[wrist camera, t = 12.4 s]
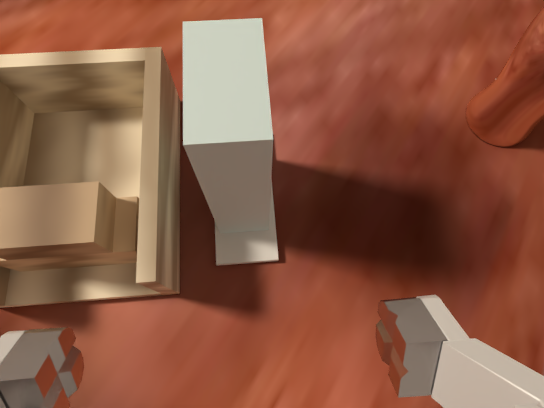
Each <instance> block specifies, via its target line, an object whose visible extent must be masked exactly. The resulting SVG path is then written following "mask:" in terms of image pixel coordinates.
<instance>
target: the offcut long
mask: <svg viewBox="0 0 544 408" xmlns="http://www.w3.org/2000/svg"><path fill="white" fill-rule="evenodd" d="M138 218H139V198H138V197H137V196H135V197H120V198H116V208H115V224H114V239H113V252H112V253H98V254H85V255H71V256H57V257H44V258H30V259H16V260H5V259H1V258H0V266H1V267H5V268H9V269H13V270H16V271H20V272H22V271H36V270H49V269H62V268H76V267H89V266H103V265H116V264H129V263H137V242H138Z"/></svg>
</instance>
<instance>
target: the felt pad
mask: <svg viewBox="0 0 544 408" xmlns="http://www.w3.org/2000/svg"><path fill="white" fill-rule="evenodd" d="M215 244H216V265H217V266H218V265H232V264H245V263H258V262H271V261H278V260H279V259H278V248H277V236H276V225H275V213H274V202H273V190H272V179H271V195H270V216H269V230H260V231H247V232H233V233H220V232H219V229H218V227H217V225H216V222H215Z"/></svg>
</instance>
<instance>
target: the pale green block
mask: <svg viewBox="0 0 544 408" xmlns="http://www.w3.org/2000/svg"><path fill="white" fill-rule="evenodd" d="M183 146H184V148H185V151H186V153H187V156H188V158H189V160H190V163H191V165H192V167H193V170H194V172H195V175H196V177H197V179H198V182H199V184H200V187H201V189H202V191H203V194H204V196H205V198H206V201H207V203H208V206H209V208H210V210H211V213H212V215H213V217H214V220H215V222H216V225H217V227H218V229H219V232H220V233H233V232H247V231H260V230H269V216H270V195H271V175H272V155H273V131H272V121H271V110H270V99H269V88H268V78H267V67H266V56H265V46H264V35H263V24H262V18H254V19H232V20H211V21H189V22H183Z"/></svg>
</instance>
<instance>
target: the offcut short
mask: <svg viewBox="0 0 544 408" xmlns="http://www.w3.org/2000/svg"><path fill="white" fill-rule="evenodd" d="M115 208H116V197H115V196H114V195H113V194H112V193H111V192H110V191H108V190H107V189H106V188H105V187H104V186H103V185H102V184H101V183H100V182H99V181H97V182H81V183H66V184H50V185H34V186H19V187H3V188H0V258H1V259H5V260H16V259H30V258H44V257H57V256H71V255H85V254H98V253H112V252H113V239H114V224H115Z"/></svg>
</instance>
